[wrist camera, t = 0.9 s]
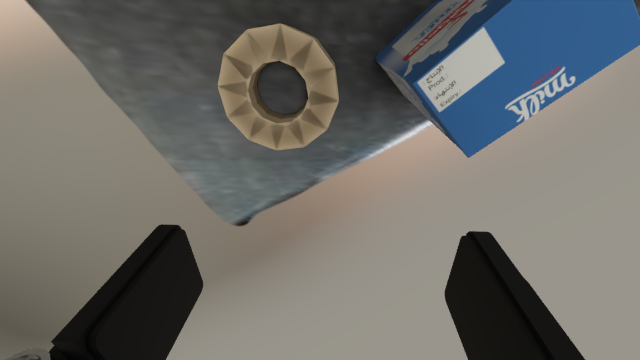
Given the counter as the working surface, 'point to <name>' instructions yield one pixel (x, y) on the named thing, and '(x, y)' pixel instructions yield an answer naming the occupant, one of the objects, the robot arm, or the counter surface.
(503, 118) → the milk carton
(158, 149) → the counter surface
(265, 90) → the counter surface
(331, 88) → the faceted beige ring
